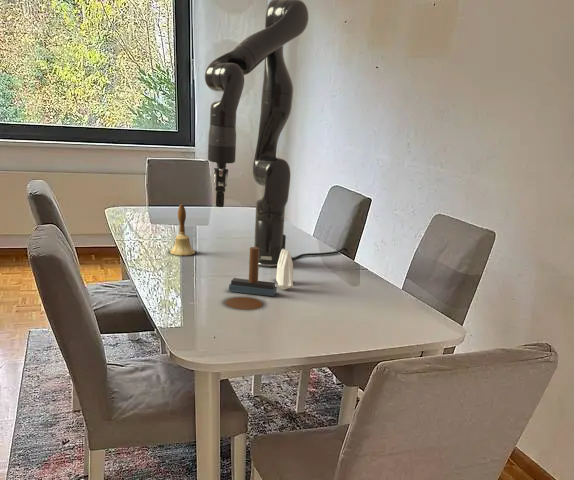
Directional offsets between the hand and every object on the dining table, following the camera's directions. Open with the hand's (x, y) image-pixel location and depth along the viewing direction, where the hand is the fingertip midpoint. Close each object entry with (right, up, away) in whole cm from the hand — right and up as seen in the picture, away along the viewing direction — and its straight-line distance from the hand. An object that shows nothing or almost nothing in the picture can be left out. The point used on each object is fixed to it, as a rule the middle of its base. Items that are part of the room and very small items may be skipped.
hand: (219, 204), depth 180 cm
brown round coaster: (+8, -29, -10) cm, 32 cm away
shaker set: (+18, -22, +7) cm, 30 cm away
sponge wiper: (+9, -25, -1) cm, 27 cm away
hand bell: (-16, -7, +34) cm, 38 cm away
